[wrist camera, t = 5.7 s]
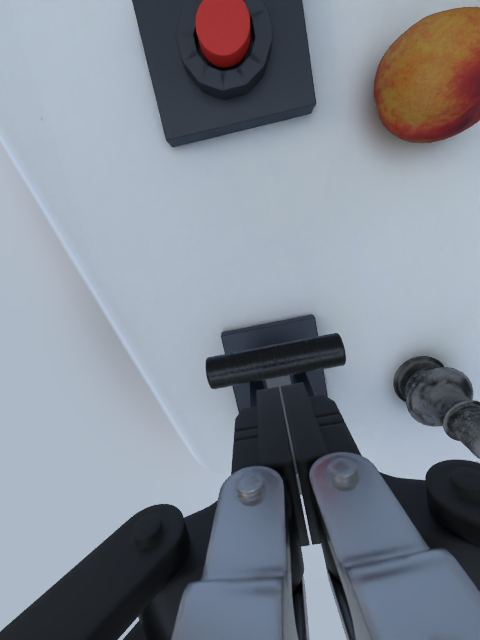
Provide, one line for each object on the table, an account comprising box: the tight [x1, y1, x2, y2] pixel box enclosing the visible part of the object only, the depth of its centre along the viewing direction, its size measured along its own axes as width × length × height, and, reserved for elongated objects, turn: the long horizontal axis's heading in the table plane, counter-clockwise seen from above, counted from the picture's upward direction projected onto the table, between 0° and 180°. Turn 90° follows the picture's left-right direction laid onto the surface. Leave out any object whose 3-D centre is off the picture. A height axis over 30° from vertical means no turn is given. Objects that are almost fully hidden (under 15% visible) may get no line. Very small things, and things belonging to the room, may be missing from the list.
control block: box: [132, 0, 316, 147], centre depth 25 cm, size 12×10×4 cm
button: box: [195, 0, 250, 68], centre depth 22 cm, size 4×4×2 cm
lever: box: [206, 333, 346, 495], centre depth 18 cm, size 12×6×2 cm, turn 12°
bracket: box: [221, 315, 328, 413], centre depth 27 cm, size 12×9×15 cm
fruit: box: [374, 7, 480, 143], centre depth 23 cm, size 8×8×8 cm
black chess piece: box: [394, 356, 480, 458], centre depth 28 cm, size 6×6×12 cm
